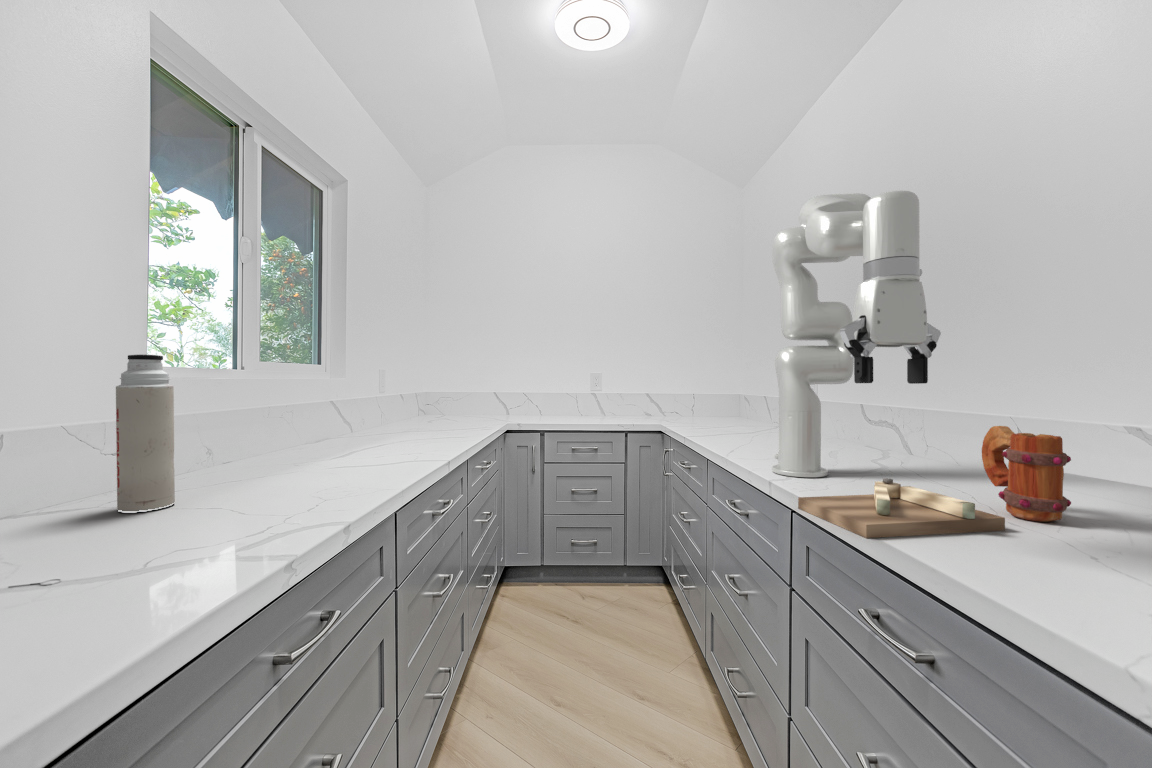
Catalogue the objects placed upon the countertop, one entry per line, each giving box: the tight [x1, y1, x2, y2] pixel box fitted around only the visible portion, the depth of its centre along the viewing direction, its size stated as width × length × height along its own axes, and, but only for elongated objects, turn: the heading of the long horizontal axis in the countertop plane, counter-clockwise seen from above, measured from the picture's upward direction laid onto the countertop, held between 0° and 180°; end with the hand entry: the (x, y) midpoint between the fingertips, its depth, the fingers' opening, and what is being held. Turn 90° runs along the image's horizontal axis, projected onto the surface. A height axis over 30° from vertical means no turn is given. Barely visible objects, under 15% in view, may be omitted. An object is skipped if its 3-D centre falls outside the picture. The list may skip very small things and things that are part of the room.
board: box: [797, 493, 1006, 539], centre depth 84 cm, size 17×24×2 cm
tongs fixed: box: [882, 477, 976, 519], centre depth 84 cm, size 16×3×3 cm, turn 9°
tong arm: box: [873, 480, 901, 515], centre depth 85 cm, size 17×4×2 cm, turn 151°
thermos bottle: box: [115, 354, 176, 511], centre depth 91 cm, size 8×8×28 cm
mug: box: [981, 425, 1072, 523], centre depth 87 cm, size 15×8×15 cm, turn 179°
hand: (890, 383), depth 78 cm, fingers open, 9 cm apart
